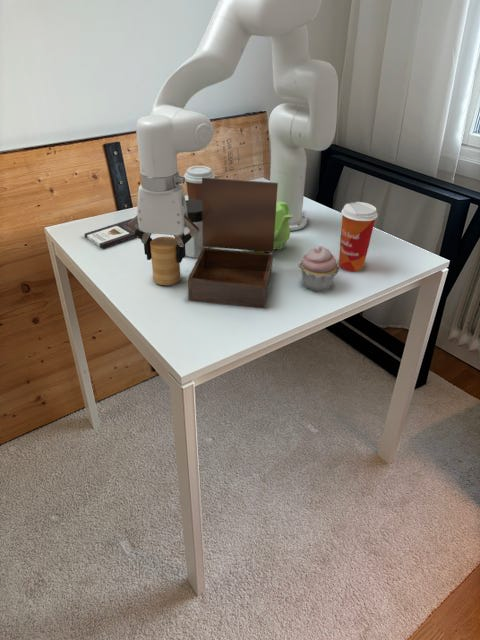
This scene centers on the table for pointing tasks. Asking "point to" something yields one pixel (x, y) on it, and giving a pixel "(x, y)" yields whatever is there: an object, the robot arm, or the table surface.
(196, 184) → the coffee cup
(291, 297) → the table surface
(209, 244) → the lid
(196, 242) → the jar
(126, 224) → the chocolate bar
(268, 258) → the chest
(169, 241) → the cookie stack
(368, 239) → the coffee cup
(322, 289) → the cupcake
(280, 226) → the teapot
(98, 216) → the table surface
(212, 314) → the table surface
